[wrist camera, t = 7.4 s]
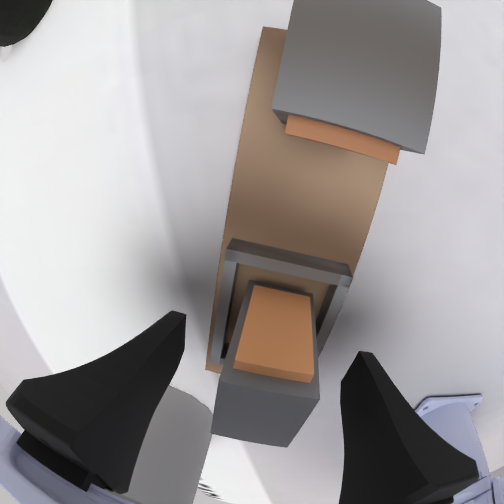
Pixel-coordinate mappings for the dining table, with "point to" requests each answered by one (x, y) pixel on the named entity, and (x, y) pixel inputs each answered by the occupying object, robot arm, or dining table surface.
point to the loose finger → (269, 368)
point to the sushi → (19, 18)
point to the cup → (171, 452)
